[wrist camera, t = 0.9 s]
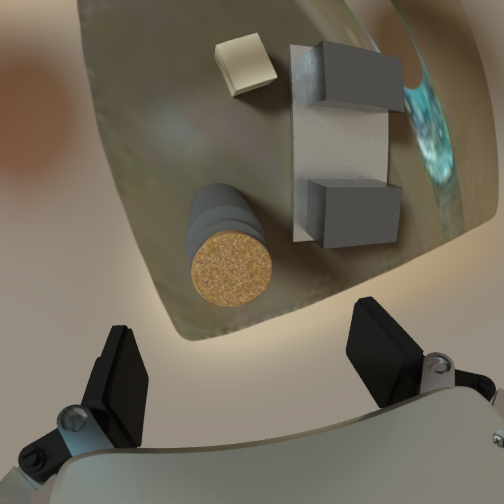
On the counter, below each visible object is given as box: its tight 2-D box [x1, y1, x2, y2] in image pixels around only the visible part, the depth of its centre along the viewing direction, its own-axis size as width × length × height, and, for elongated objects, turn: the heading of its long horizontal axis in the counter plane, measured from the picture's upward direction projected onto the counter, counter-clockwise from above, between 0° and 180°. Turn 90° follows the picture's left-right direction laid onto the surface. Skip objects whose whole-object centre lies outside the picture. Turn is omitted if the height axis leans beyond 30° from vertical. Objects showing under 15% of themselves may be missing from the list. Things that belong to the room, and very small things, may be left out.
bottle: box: [186, 183, 273, 307], centre depth 23 cm, size 6×6×15 cm
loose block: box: [214, 33, 277, 97], centre depth 23 cm, size 5×4×4 cm
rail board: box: [287, 41, 405, 249], centre depth 26 cm, size 22×12×6 cm, turn 2°
